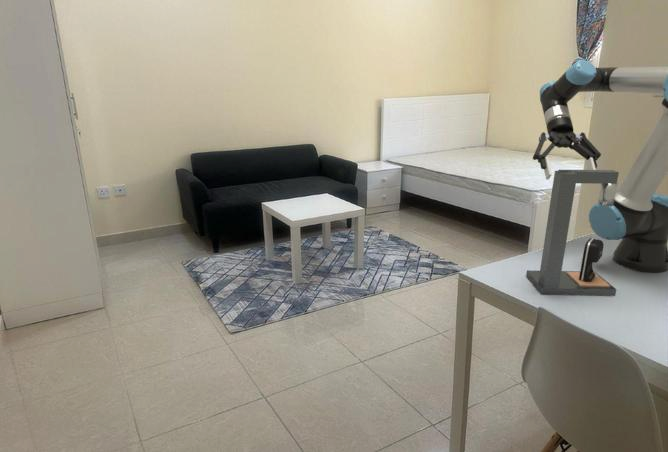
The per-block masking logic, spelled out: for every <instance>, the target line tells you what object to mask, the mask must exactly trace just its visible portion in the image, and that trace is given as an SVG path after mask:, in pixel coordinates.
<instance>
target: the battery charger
mask: <svg viewBox="0 0 668 452" xmlns="http://www.w3.org/2000/svg"><path fill="white" fill-rule="evenodd" d="M603 250H604V241H602V240H601V239H597V238H596V239H595V238H593V237H592V238H591V237H590V238H589V239H588V240H587V241H586V242H585V245H584V248H583V253H582V254H583V255H582V259H581V265H580V270H579V271H580V276H579V280H582V281H588V282H591V281H592V280H593V278H594V277H595V273H594V272H595V270H594V269H593V264H594V263H599V260H601V258H602V257H603V253H604V252H603Z"/></svg>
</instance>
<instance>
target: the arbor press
mask: <svg viewBox="0 0 668 452" xmlns="http://www.w3.org/2000/svg"><path fill="white" fill-rule="evenodd" d="M619 175H620V172H619V171H616V170H614V169H596V170H588V169H558V170H554V175H553V181H552V182H553V183H552V187H551V189H552V190H551V195H550V202H549V207H548V214H547V221H546V228H545V229H546V230H545V235H544V241H543V242H544V243H543V248H542V249H543V250H542V254H541V255H542V256H541V262H540V268H539V269H540V270H526V273H525V274H526V275H525V277H526V279H527V280H528V281H529V282H530V284H532V286H533V287H534V289H536V291H537V292H538V293H539V294H540V295H542V296H543V295H544V296H545V295H547V296H551V295H552V296H587V297H588V296H589V297H590V296H594V297H595V296H596V297H597V296H599V297H600V296H601V297H616V294H617V289H616V288H615V287H614V286H613V285H612V284H611V283H610V282H608V281H607V280H606V279H605V278H604V277H602V276H601V275H600V274H599V273H597V272H596V271H594V272H595V273H596V274H597V275H598V276H599V277H600V278H602V279H603V280H604V281H605V282H606V283H608V284H609V285H610V287H583V286H579V285H578V284H577V283H576V282H575V281H574V280H573V279H572V278H571V277H570V276H569V275H568V274H567V272H580V270H578V271H577V270H576V271H573V270H572V271H571V270H563V264H564V257H565V254H566V253H565V251H566V245H567V239H568V234H569V228H570V221H571V216H572V210H573V204H574V199H575V198H574V196H575V191H576V186H577V185H576V184H593V185H594V184H597V185H598V184H600V189H599V196H598V202H597V203H598V204H599V205H602V206H613V205H614V199H615V194H616V189H617V187H618V185H619V184H618V178H619Z"/></svg>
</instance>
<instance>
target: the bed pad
mask: <svg viewBox="0 0 668 452" xmlns="http://www.w3.org/2000/svg"><path fill="white" fill-rule="evenodd" d="M595 272H596V271H594V273H595ZM596 273H597V272H596ZM596 273H595V277H594V278H593V280H592V281H591V282H588V281H582V280H579V276H580V272H567V274H568V275H569V276H570V277H571V278H572V279H573V280H574V281H575V282H576V283H577V284H578V285H579V286H583V287H610V285H609V284H610V283H609V282H608V283H609V284H608V283H606V282H605V281H604V280H603V279H604V278H603V277H602V278H603V279H602V278H600V277H599V276H598V275H597V274H598V273H597V274H596Z"/></svg>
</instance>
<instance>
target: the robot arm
mask: <svg viewBox="0 0 668 452" xmlns="http://www.w3.org/2000/svg"><path fill="white" fill-rule="evenodd" d="M583 92H584V93H585V92H586V93H587V92H588V93H591V92H592V93H593V92H606V93H607V92H608V93H617V92H618V93H636V94H637V93H638V94H639V93H640V94H663V100H662V102H661V107H662V109H663V112H662V114H661V116H660V118H659V119H658V121H657V123H656V124H655V126H654V128H653V129H652V131H651V133H650V134H649V136H648V138H647V139H646V141H645V143H644V145H643V146H642V148H641V150H640V151H639V152H638V155H637V156H636V158H635V159H634V161H633V163H632V165H631V166H630V168H629V169H628V172H627V173H626V175H625V176H624V179H623V180H622V182H621V183H620V185H619V186H617V189H616V194H615V199H614V205H613V206H602V205H599V204H598V202H597V203H595V204H594V205H593V206H592V207H591V208H590V210H589V211H588V212H589V214H588V222H589V224H590V228H591V230H592V231H593V233H594V234H595V235H596V236H598V237H599V238H601V239H603V240H606V241H619V240H620V241H619V243H618V245H617V246H616V248H615V250H614V251H613V255H612V260H613V262H615V263H616V264H618V265H620V266H622V267H624V268H627V269H630V270H634V271H640V272H645V273H646V272H647V273H662V272H667V271H668V195H667V194H662V193H658V192H657V191H658V189H659V188H660V185H661V184H662V183H663V181H664V180H665V178H666V177H667V175H668V66H631V67H630V66H629V67H628V66H627V67H626V66H625V67H624V66H623V67H617V66H616V67H615V66H614V67H613V66H612V67H609V66H607V67H595V65H594V64H593V63H591V61H589V60H588V61H587V60H585V59H579V60H577V61H575V62H574V63H573V64H572V65H570V66H569V67H568V68H567V70H566V71H565V72H564V73H563V74H562V75H561V76H560V77H559V78H558V79H557V80H552V81H548V82H547V83H544V84H543V85H542V86H541V87H540V89H539V98H540V99H539V101H540V104H541V108H542V112H543V117H544V121H545V125H546V131H547V134H546V132H541V134H540V136H539V137H538V144H537V147H536V149H535V152H534V153H533V156H532V160H534V161H536V160H537V163H539V164H540V168H541V170H543V171H544V175H545V180H550V178H551V177H552V175H553V173H552V169H551V164H550V159H549V157H547V156H548V155H549V154H550V153H551V151H553V149H554V148H555V147H557V148H559V149H561V148H565V149H566V148H567V149H568V148H569V149H570V150H573V151H575V152H576V153H577V154H578V155H580V156H581V157H583V158H584V159H585V160H586V162H585V163H586V167H587V170H597V167H598V164H597V160H598V159H600V158H601V156H602V154H601V152H600V151H599V150H598V149H597V148H596V147H595V146H594V145H593V143H592V142H591V141H590V140H589V139H588V138H587V136H586V132H581V133H579V134H576V133H575V132H574V126H573V122H572V118H571V114H570V110H569V106H568V103H569V101H571V100H572V99H573V98H574V97H575V96H576V95H577V94H579V93H583ZM547 140H548V141H549V142H550V144H549V146H548V147H547V148H546V149H545V150H544V151H543V152H542V148H543V146H544V144H545V142H547ZM541 152H542V154H541Z"/></svg>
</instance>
